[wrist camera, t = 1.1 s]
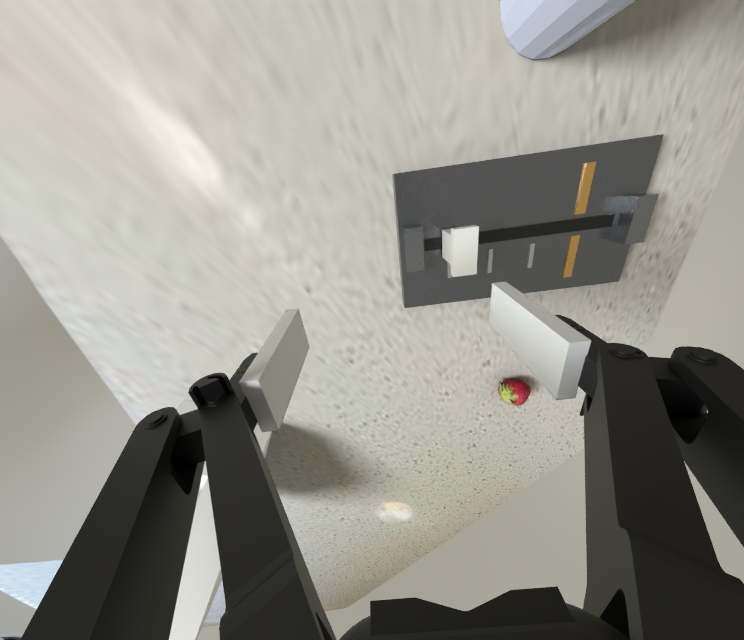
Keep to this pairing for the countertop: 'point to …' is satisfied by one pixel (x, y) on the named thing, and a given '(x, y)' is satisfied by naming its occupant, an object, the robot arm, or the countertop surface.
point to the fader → (461, 249)
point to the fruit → (514, 392)
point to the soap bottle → (553, 23)
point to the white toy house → (201, 556)
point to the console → (526, 219)
